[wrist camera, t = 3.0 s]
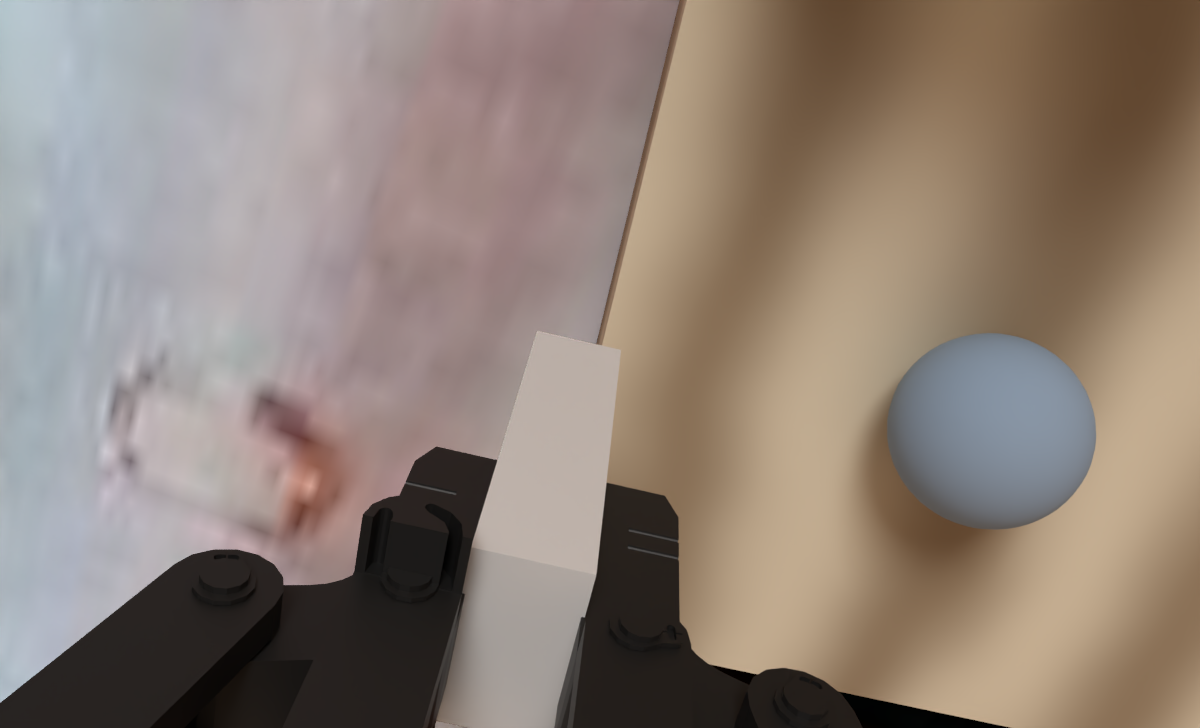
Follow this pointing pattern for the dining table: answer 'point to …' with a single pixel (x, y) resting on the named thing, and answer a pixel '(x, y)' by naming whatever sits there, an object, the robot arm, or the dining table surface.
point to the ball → (991, 431)
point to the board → (920, 342)
